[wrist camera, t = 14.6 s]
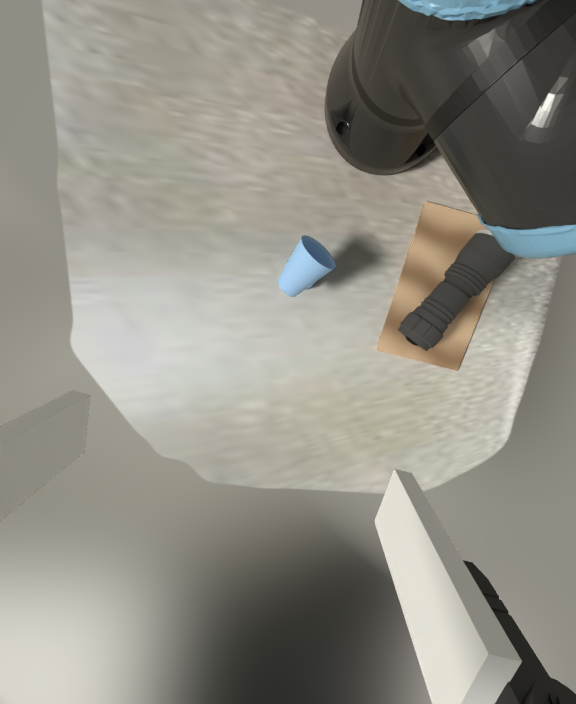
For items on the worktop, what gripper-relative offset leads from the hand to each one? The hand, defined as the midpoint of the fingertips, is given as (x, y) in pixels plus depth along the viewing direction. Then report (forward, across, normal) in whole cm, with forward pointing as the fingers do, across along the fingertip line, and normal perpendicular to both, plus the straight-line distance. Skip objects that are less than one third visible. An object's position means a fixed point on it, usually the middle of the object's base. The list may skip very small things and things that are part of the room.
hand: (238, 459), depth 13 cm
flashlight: (+31, +20, +11) cm, 39 cm away
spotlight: (+32, +1, +9) cm, 33 cm away
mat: (+32, +20, +11) cm, 39 cm away
